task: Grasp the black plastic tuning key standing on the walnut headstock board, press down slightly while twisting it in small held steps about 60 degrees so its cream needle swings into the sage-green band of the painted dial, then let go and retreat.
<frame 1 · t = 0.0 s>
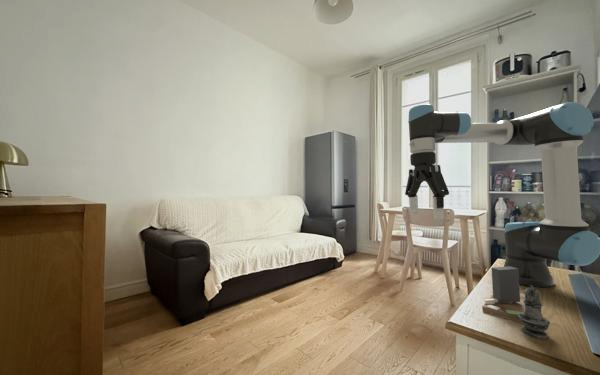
hand: (425, 217, 81), 28 cm above the table, fingers open, 13 cm apart
dark grey chess piece: (534, 333, 62), on the table
dial marks: (506, 307, 75), resting on headstock board
headstock board: (511, 306, 76), on the table
peg: (500, 285, 76), point 7 cm above the table, hinge at 0.0°
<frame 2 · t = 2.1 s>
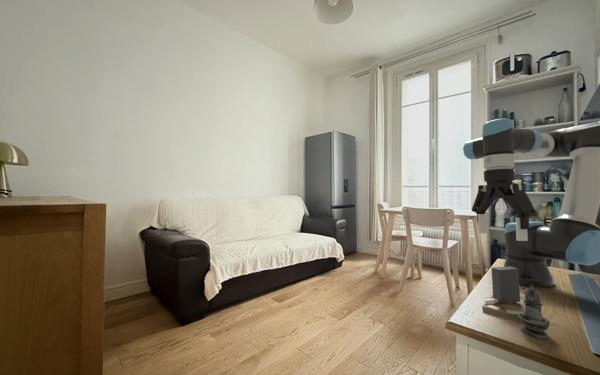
hand: (500, 236, 77), 22 cm above the table, fingers open, 13 cm apart
nothing on the table moved.
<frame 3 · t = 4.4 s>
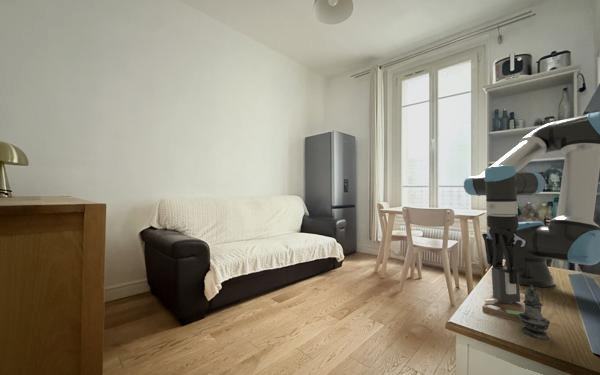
hand: (506, 291, 76), 5 cm above the table, fingers closed on peg, 3 cm apart
peg: (500, 285, 76), point 7 cm above the table, hinge at 0.0°, touching gripper
everything else where it was.
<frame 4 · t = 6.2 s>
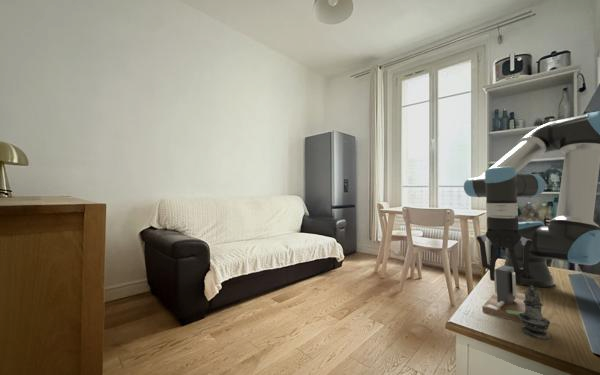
hand: (505, 293, 75), 4 cm above the table, fingers closed on peg, 3 cm apart
peg: (503, 286, 75), point 7 cm above the table, hinge at 29.3°, touching gripper
everything else where it was.
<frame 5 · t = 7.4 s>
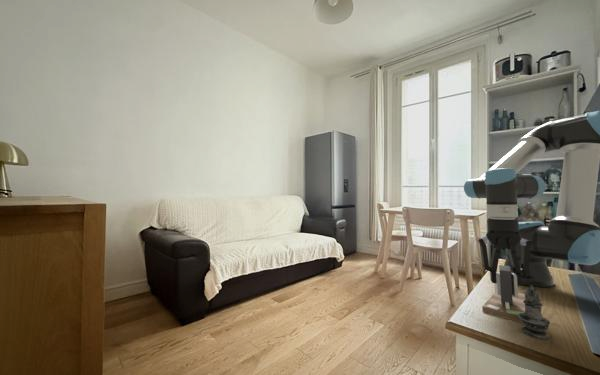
hand: (506, 294, 75), 4 cm above the table, fingers closed on peg, 3 cm apart
peg: (506, 286, 74), point 7 cm above the table, hinge at 47.3°, touching gripper
everything else where it was.
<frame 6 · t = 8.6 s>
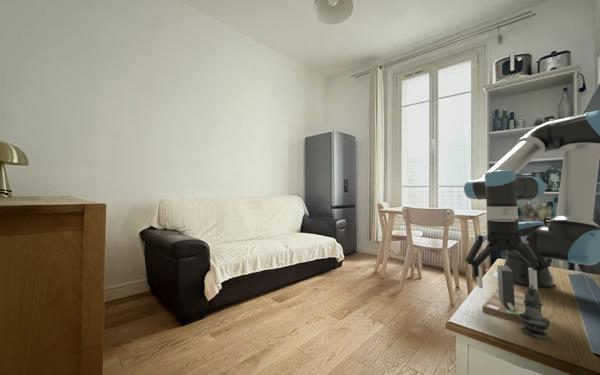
hand: (505, 289, 76), 6 cm above the table, fingers open, 13 cm apart
peg: (507, 287, 74), point 7 cm above the table, hinge at 55.6°
everything else where it was.
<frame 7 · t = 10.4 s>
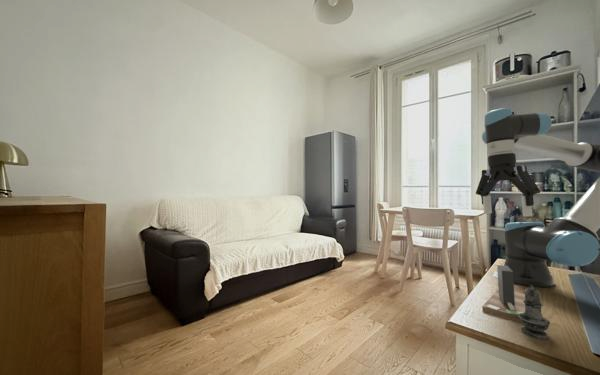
hand: (506, 214, 85), 27 cm above the table, fingers open, 13 cm apart
peg: (507, 287, 74), point 7 cm above the table, hinge at 55.9°
everything else where it was.
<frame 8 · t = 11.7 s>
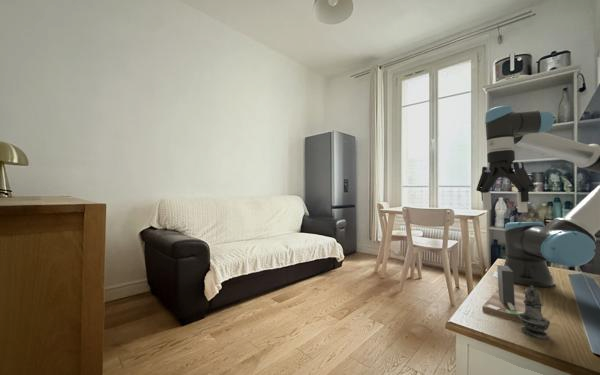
hand: (503, 211, 87), 29 cm above the table, fingers open, 13 cm apart
nothing on the table moved.
at the end: peg at +56° (first picture: +0°); the gripper is holding nothing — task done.
